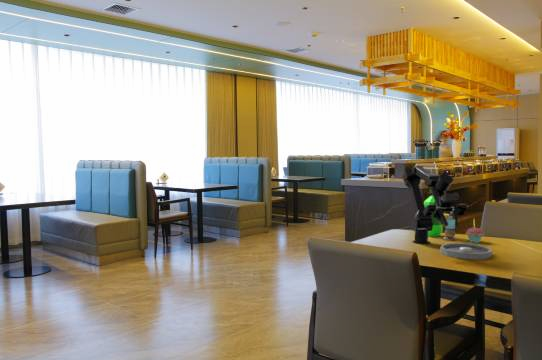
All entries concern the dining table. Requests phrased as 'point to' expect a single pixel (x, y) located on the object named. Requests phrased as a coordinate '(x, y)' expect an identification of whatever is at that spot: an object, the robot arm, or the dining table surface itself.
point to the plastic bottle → (437, 225)
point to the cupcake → (475, 234)
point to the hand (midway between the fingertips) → (451, 225)
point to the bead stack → (450, 229)
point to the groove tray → (466, 251)
